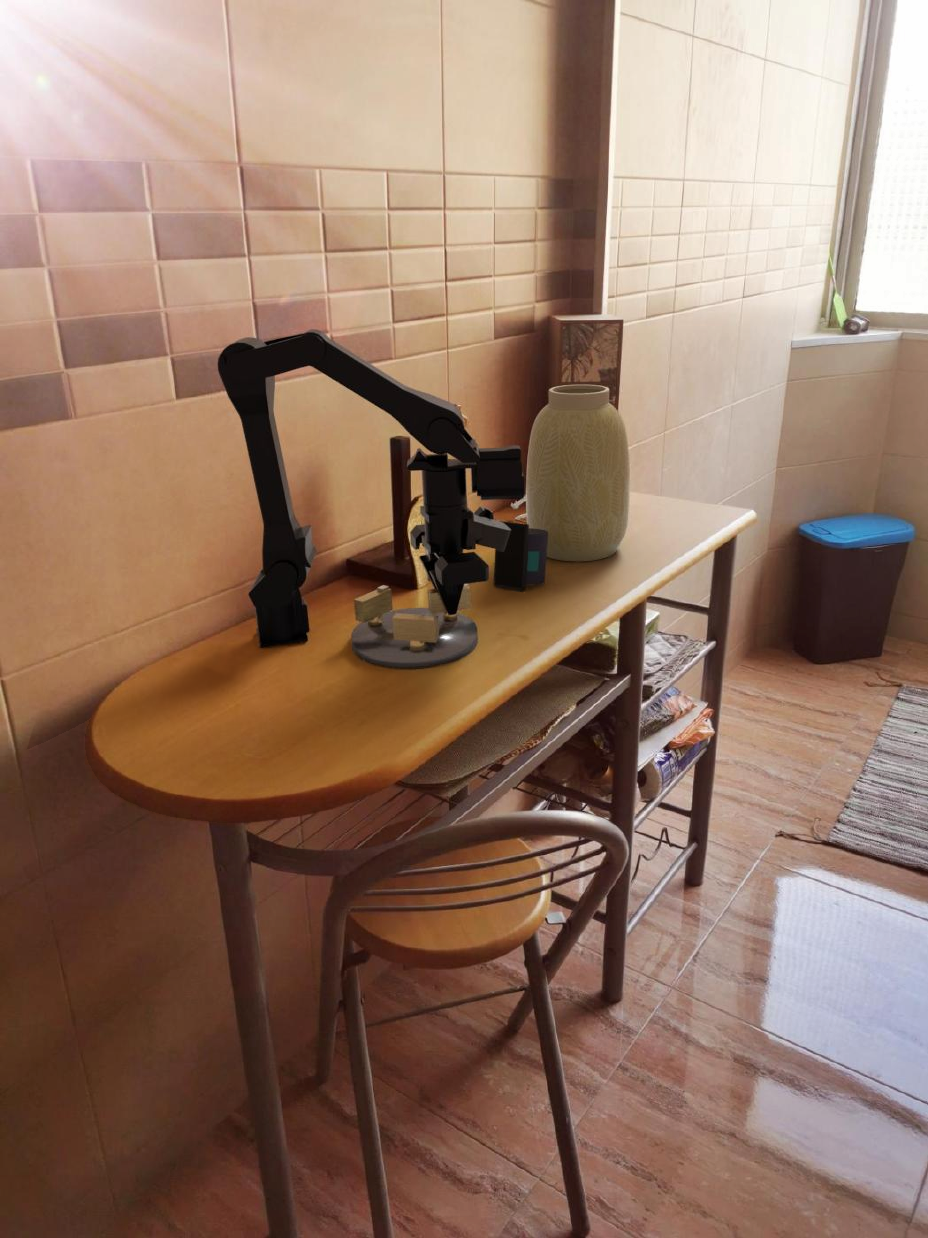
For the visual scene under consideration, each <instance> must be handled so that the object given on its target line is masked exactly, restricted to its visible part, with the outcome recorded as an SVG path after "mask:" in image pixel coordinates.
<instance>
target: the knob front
mask: <svg viewBox="0 0 928 1238" xmlns="http://www.w3.org/2000/svg"><path fill="white" fill-rule="evenodd" d="M392 621H393V635H394V640H407V641H409V650H410V651H411V652H422V651H424V650H425V642H435V643H436V642H437V640H438V639H439V621H438V616H436V614H432V613H427V614H426V615H417V614H401V613H396V614H395V615H394V616H393V618H392Z"/></svg>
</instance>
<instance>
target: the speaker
mask: <svg viewBox="0 0 928 1238" xmlns="http://www.w3.org/2000/svg"><path fill="white" fill-rule="evenodd" d="M499 521H500V522H503V523H504V524H505V525H506V526H508V527H509V528H510V529H511V532H510V535H509V538H508V541H507V544H506V547H505V550H504V552H500V551H496V549H494V563H493V564H494V568H493V588H499V589H504V590H505V589H506V590H511V591H517V592H523V593H524V592H526V586H538V585H543V584H545V583H546V572H547V571H546V569H547V568H546V567H547V558H548V557H547V543H548V532H547V531H546V530H541V529H533V528H529V524H527V523H520V522H512V521H506V520H505V521H503V520H499Z"/></svg>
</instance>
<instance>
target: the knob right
mask: <svg viewBox="0 0 928 1238" xmlns="http://www.w3.org/2000/svg"><path fill="white" fill-rule="evenodd" d="M471 597H472V595H471V587H470V586H469V584H464V587H463V590H462V594H461V598H460V602H459V605H458V609H457V613H458V611H463V610H471V609H472V598H471ZM427 603H428V608H429V611H430V613H432V614H437V613H443V621H445V622H455V621H457V620H458V616H457V613H456V614H455V615H448V613H447V611H446V608H445V606H444V604H443V602H442V599H441V597H440V595H439V592H438V590H437V589H434V588H430V589H427Z"/></svg>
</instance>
